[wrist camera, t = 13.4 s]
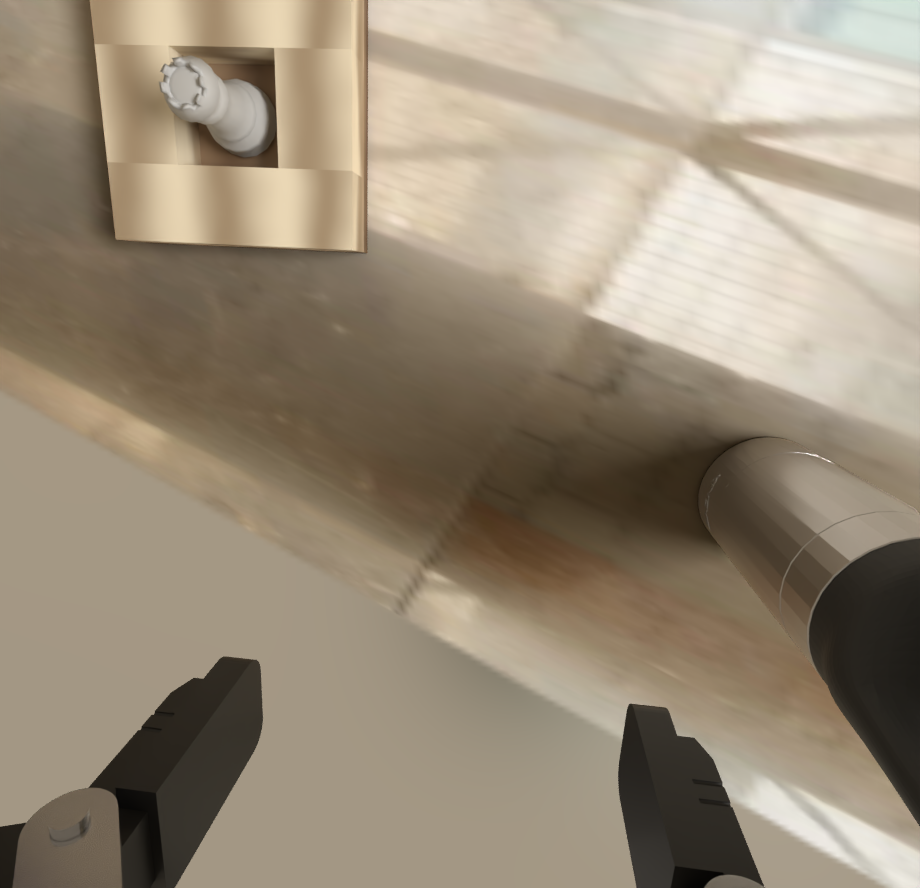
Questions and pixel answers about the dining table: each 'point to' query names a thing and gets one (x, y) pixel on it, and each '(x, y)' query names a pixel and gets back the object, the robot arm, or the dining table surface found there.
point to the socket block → (204, 160)
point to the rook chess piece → (220, 105)
